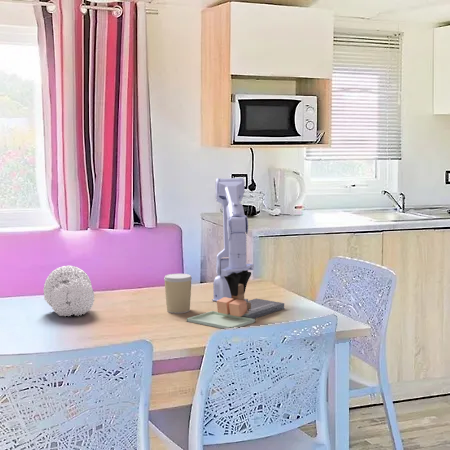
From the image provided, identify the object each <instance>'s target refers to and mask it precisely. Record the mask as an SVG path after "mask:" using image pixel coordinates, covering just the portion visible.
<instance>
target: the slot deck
mask: <svg viewBox="0 0 450 450" xmlns="http://www.w3.org/2000/svg"><path fill="white" fill-rule="evenodd" d="M244 300H245V301H246V302H249V303H251V309H249V310H247V311H246V314H244V315H242V317H247V318H252V319H255V320H256V319H257V318H260V317H263V316H267V315H271V314H274V313H276V312H280V311H282V309H283V310H285V303H284V302H279V301H275V300H269V299H261V298H253V299H249V298H244ZM229 314H230V313H229Z"/></svg>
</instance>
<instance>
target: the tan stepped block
mask: <svg viewBox="0 0 450 450" xmlns="http://www.w3.org/2000/svg"><path fill="white" fill-rule="evenodd" d="M231 298H233V299H234V300H236V299H238V300H244V299H245V293H244V285H243V284H239V285H238V295H237V296H232V295H231ZM244 301H245V300H244ZM246 304H247V310H249V309H251V303H249V302H246Z"/></svg>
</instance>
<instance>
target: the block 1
mask: <svg viewBox="0 0 450 450" xmlns="http://www.w3.org/2000/svg"><path fill="white" fill-rule="evenodd" d="M232 301H234V299H233V298H227V297H223V298H222V299H220V300H218V301H216V306H217V312H218V313H223V314H229V313H230V309H229V303H230V302H232Z"/></svg>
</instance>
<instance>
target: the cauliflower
mask: <svg viewBox="0 0 450 450" xmlns="http://www.w3.org/2000/svg"><path fill="white" fill-rule="evenodd" d="M91 282H92V281H91V279H90V277H89V275H88V274H87V273H86V272H85V271H84V270H83V269H81V268H79V267H78V266H73V265H63V266H60V267H56V269H54V270H52V271H51V272H50V273H49V275H47V277H46V279H45V282H44V284H43V285H44V286H43V288H42V289H43V297H44V299H43V300H44V301H45V302H46V303H47V304H48V305H49V306H50V307H51V309H52V310H53V312H54V313H55V314H57V315H58V316H59V317H66V316H68V317H72V316H73V315H74V316H75V317H76V316H77V317H80V316H82V314H83V315H85V314H86V313H88V312H89V311H90V310H91V308H92V307H93V305H94V301H95V292H94V289H93V287H92V283H91ZM71 315H72V316H71ZM79 315H80V316H79Z"/></svg>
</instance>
